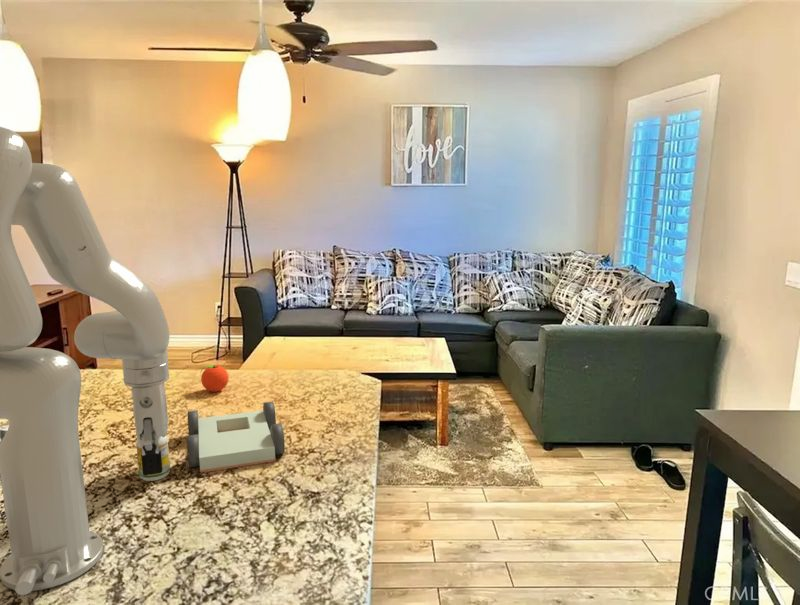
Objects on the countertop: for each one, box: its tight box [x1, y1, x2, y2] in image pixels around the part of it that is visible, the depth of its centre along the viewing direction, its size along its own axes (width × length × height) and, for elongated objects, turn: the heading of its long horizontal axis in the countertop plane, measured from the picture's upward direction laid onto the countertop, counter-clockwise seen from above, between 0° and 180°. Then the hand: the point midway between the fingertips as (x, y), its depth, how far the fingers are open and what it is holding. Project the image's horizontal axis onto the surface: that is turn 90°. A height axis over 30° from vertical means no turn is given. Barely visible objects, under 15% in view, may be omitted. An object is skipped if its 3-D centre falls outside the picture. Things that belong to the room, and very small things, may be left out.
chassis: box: [186, 401, 286, 473], centre depth 118 cm, size 20×18×6 cm
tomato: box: [199, 364, 230, 393], centre depth 150 cm, size 8×7×7 cm
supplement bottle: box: [136, 423, 171, 482], centre depth 106 cm, size 5×5×10 cm
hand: (154, 463), depth 106 cm, fingers open, 6 cm apart
